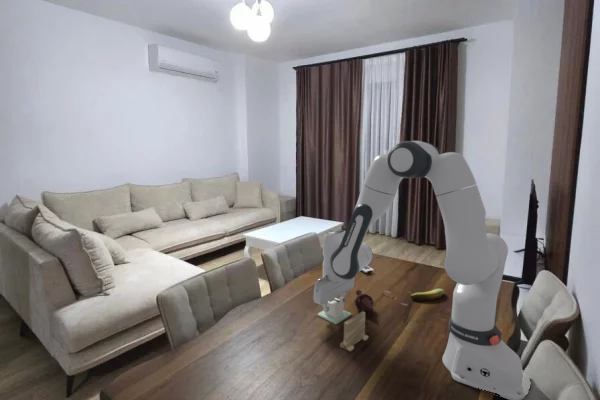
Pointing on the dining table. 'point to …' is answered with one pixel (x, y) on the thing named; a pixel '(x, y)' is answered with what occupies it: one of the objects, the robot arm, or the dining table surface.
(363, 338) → the oak screen
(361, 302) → the maroon gnome figurine
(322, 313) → the green tile
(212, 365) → the dining table surface
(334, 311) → the letter cube
